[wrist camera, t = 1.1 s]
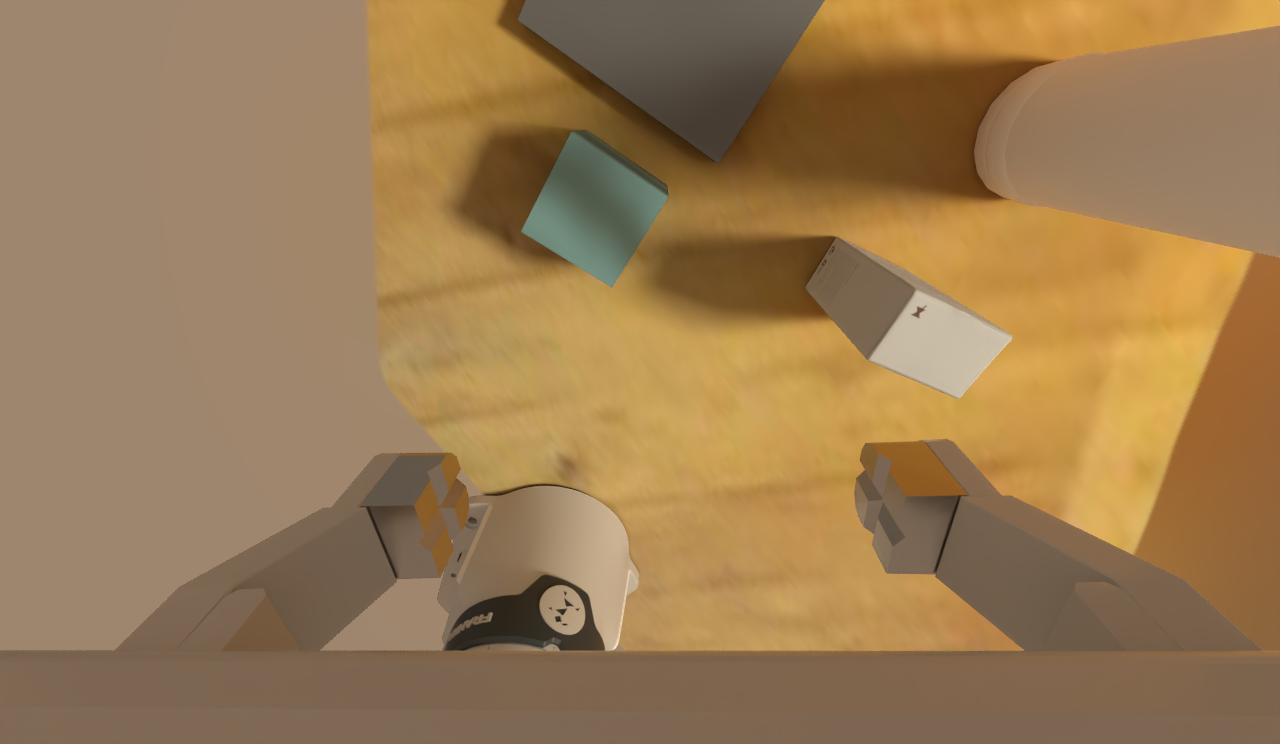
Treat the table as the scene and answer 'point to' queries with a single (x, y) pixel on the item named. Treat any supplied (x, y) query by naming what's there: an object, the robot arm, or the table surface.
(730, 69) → the post block
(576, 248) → the sage green cube
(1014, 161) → the bottle
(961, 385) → the skincare box
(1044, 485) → the table surface
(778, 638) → the table surface
